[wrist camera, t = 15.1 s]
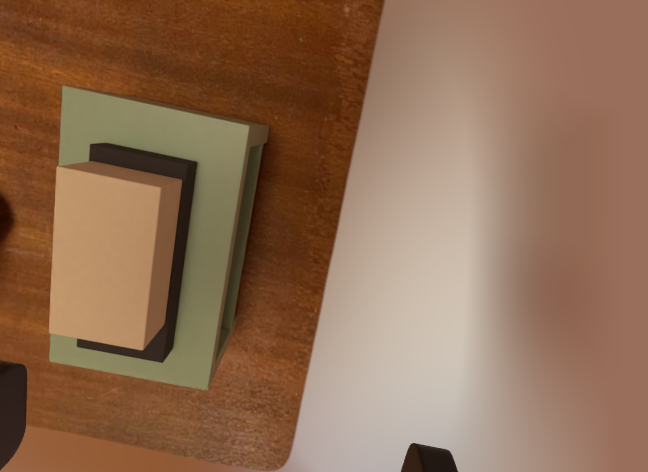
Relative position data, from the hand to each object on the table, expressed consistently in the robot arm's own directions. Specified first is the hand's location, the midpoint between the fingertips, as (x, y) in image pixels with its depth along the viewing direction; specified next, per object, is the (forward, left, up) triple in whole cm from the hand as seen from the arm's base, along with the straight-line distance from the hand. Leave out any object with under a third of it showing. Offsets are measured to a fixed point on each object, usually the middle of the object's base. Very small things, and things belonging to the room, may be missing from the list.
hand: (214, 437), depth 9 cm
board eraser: (+10, -4, -21) cm, 23 cm away
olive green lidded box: (+10, -4, -31) cm, 32 cm away
